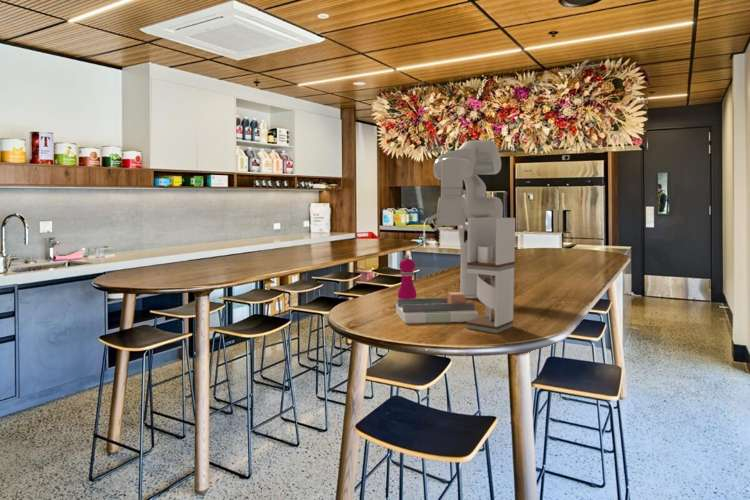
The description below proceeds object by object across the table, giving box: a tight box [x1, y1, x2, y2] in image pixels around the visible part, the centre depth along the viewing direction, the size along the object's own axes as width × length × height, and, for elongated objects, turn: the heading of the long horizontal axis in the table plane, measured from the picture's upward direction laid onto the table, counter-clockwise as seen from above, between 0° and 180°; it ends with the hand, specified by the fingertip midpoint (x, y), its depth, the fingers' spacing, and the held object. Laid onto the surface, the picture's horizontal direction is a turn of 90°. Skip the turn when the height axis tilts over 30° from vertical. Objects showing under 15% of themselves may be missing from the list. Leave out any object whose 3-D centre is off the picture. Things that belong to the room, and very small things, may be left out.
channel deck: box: [395, 303, 479, 324], centre depth 186 cm, size 25×18×3 cm
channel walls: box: [397, 297, 476, 312], centre depth 186 cm, size 25×11×2 cm, turn 97°
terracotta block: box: [447, 291, 465, 303], centre depth 187 cm, size 5×5×5 cm
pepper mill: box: [397, 254, 417, 299], centre depth 204 cm, size 7×7×20 cm
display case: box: [465, 217, 516, 334], centre depth 169 cm, size 11×11×35 cm
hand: (451, 242), depth 187 cm, fingers open, 9 cm apart
